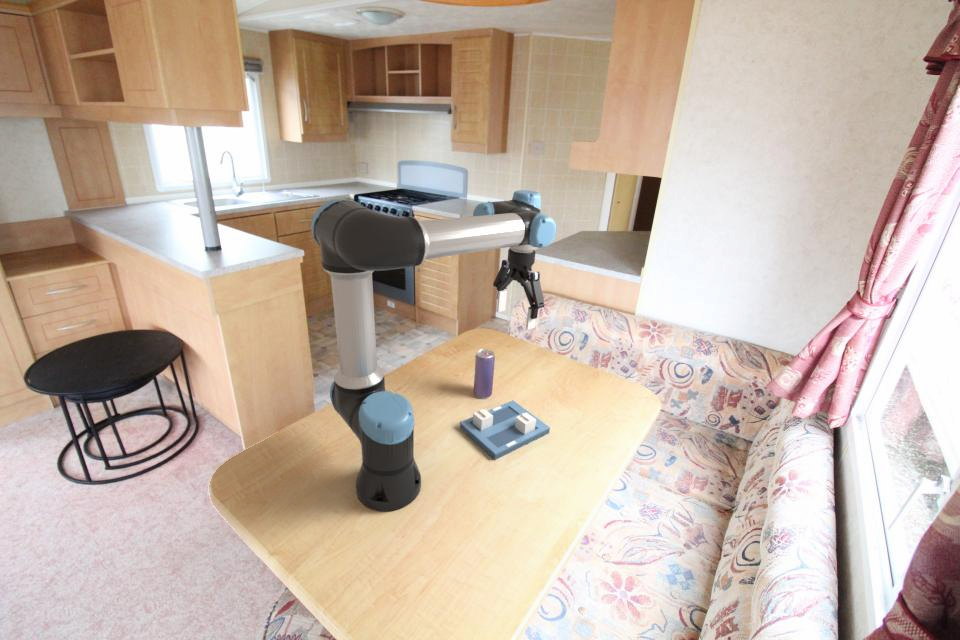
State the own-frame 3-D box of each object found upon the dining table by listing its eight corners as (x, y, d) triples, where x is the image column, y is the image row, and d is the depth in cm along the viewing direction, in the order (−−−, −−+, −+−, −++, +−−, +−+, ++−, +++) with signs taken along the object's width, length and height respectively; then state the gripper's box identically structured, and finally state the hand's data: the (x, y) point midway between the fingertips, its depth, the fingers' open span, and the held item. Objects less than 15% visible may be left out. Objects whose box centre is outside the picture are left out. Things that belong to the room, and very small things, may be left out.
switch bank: (495, 460, 121) (495, 453, 120) (459, 427, 132) (460, 421, 132) (549, 433, 132) (550, 427, 132) (512, 405, 144) (513, 399, 143)
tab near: (524, 434, 129) (525, 422, 127) (514, 427, 132) (516, 415, 130) (534, 429, 131) (536, 417, 129) (525, 422, 134) (526, 410, 132)
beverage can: (491, 400, 146) (495, 358, 140) (473, 398, 146) (475, 357, 140) (491, 389, 151) (495, 349, 145) (473, 388, 151) (476, 348, 145)
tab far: (481, 430, 129) (482, 418, 127) (472, 423, 132) (473, 411, 130) (492, 425, 131) (493, 413, 130) (483, 418, 134) (484, 406, 133)
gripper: (564, 259, 120) (553, 333, 129) (505, 236, 138) (499, 302, 147) (542, 263, 116) (533, 338, 125) (484, 239, 134) (480, 306, 143)
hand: (515, 319), depth 136 cm, fingers open, 13 cm apart
